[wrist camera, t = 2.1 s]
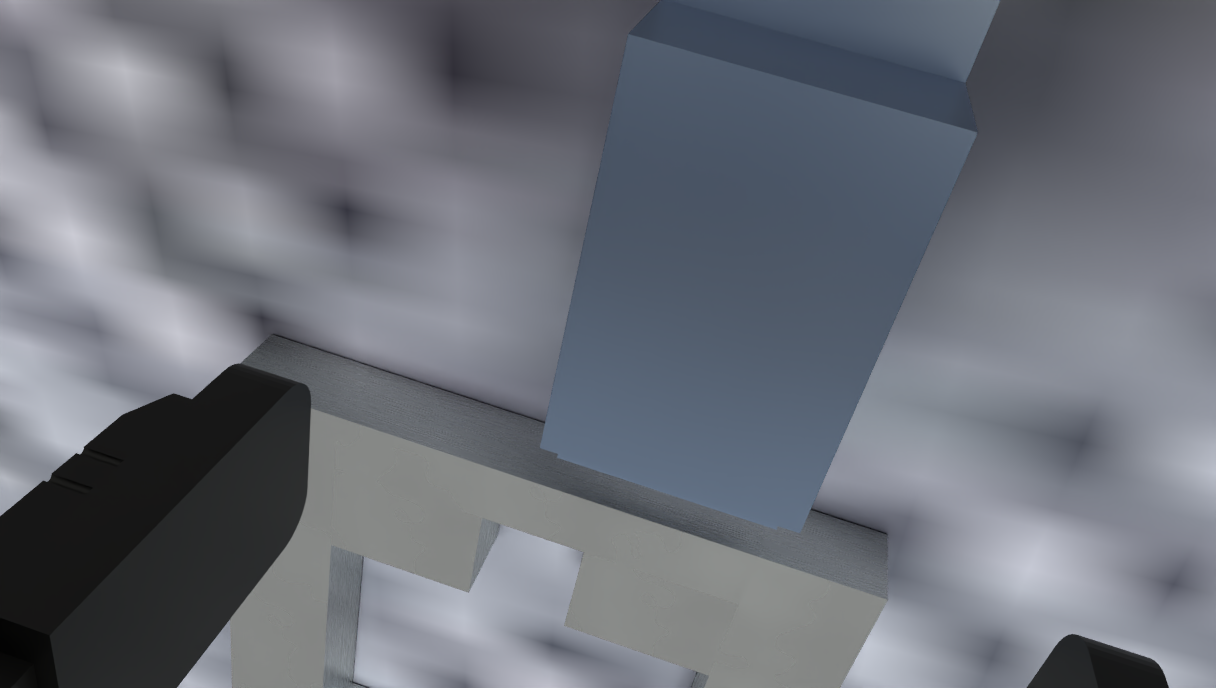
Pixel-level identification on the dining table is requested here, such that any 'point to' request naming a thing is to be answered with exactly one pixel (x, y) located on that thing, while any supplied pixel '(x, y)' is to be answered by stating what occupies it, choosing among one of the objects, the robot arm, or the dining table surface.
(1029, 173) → the dining table surface
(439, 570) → the plate
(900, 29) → the block
